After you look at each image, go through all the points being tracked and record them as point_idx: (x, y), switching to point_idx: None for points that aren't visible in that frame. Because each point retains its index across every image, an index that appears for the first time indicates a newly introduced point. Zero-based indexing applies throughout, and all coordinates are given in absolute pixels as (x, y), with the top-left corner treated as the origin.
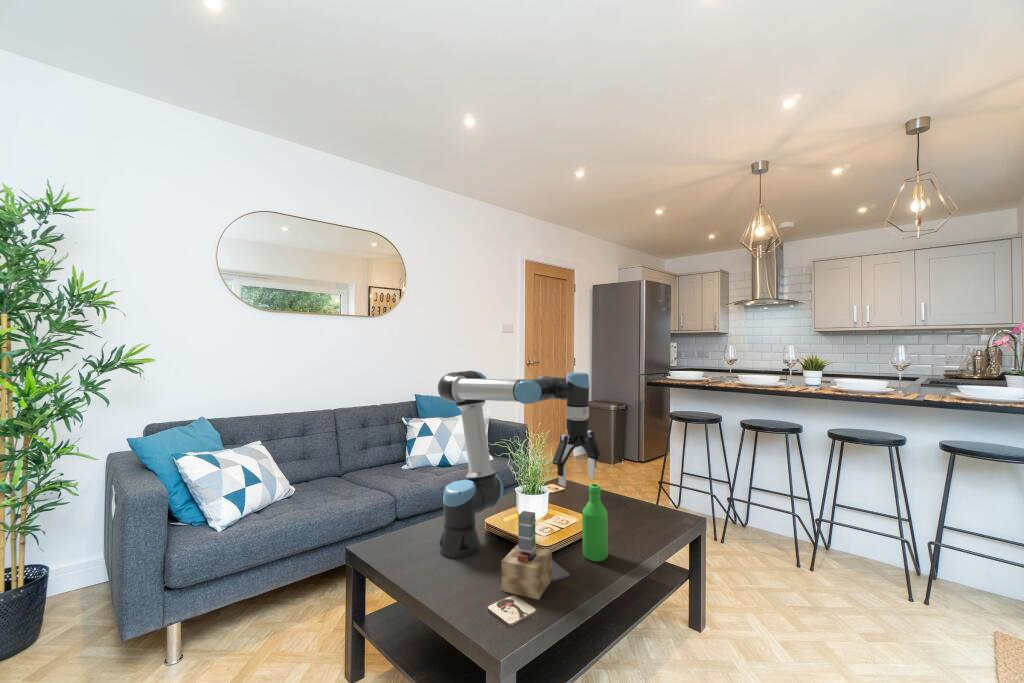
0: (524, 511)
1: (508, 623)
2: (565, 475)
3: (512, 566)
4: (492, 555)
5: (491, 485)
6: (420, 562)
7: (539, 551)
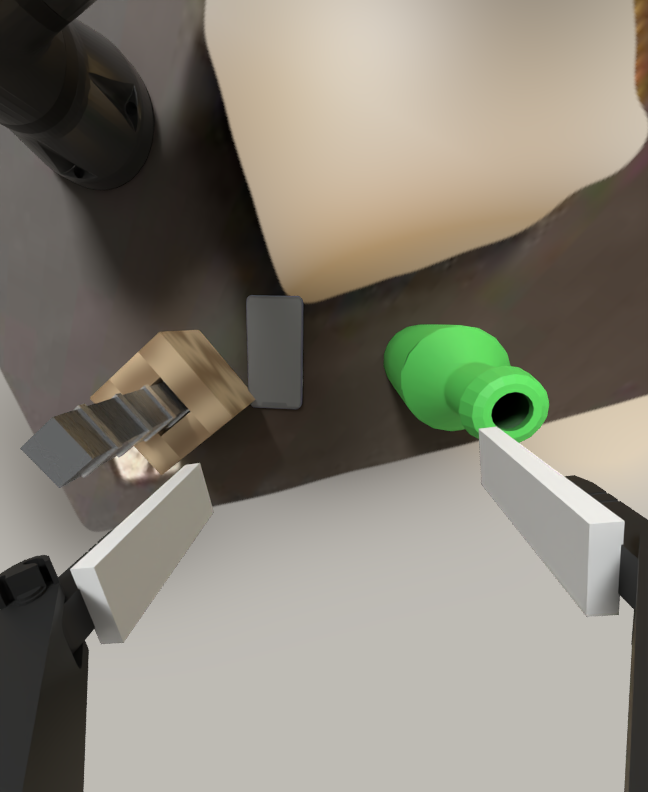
0: (55, 425)
1: (121, 477)
2: (170, 566)
3: None
4: (170, 213)
5: None
6: None
7: (201, 402)
